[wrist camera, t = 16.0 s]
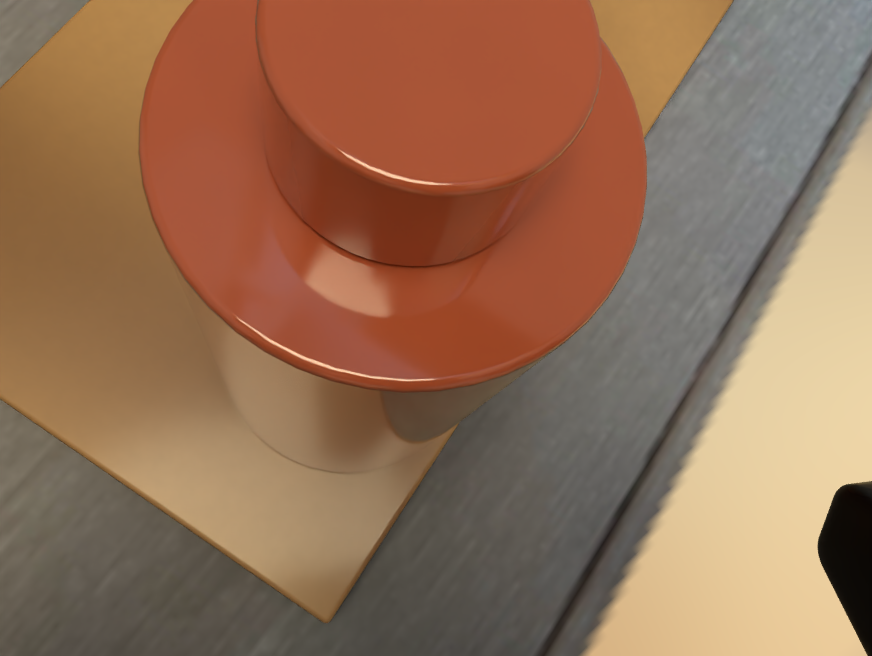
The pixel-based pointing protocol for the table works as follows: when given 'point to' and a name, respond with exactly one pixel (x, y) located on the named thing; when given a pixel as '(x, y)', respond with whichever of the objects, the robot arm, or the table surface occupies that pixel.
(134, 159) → the low shelf board
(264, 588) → the table surface
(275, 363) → the orange knobbed cylinder
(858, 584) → the robot arm
